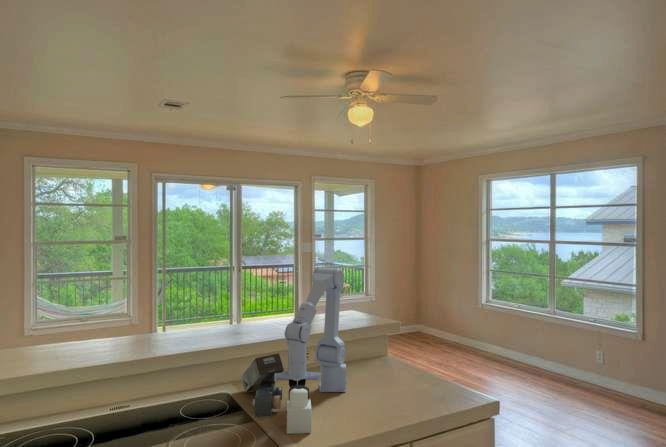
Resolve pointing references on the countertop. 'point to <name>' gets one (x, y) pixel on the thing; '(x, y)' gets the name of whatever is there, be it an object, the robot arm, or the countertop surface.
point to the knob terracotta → (273, 402)
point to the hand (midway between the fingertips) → (297, 402)
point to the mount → (264, 399)
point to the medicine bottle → (298, 410)
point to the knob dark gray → (277, 392)
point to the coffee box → (261, 371)
